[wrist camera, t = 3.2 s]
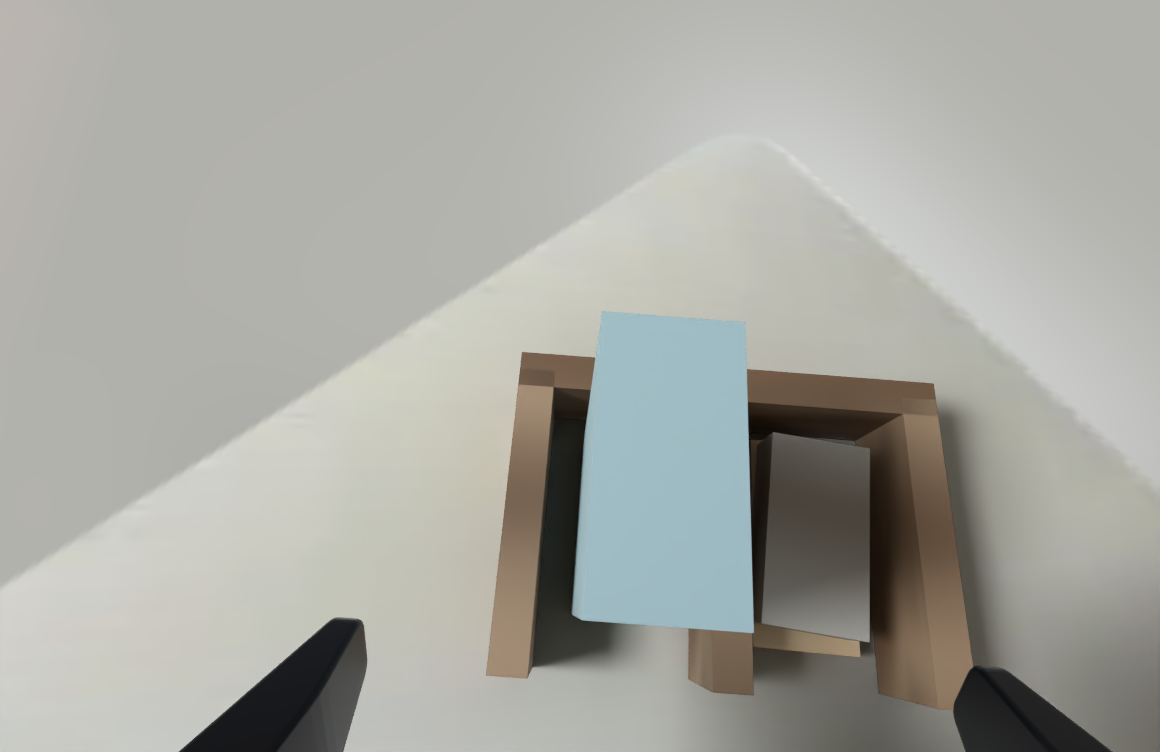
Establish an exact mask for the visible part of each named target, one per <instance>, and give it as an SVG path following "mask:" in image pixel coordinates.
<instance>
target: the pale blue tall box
mask: <svg viewBox="0 0 1160 752" xmlns="http://www.w3.org/2000/svg"><path fill="white" fill-rule="evenodd" d="M571 614H572V615H573V616H575V617H577V618H579V619H581V620H585V621H598V622H611V623H625V624H638V625H651V626H665V627H678V628H692V629H705V630H718V631H732V632H745V633H754V619H753V582H752V545H751V508H750V471H749V435H748V398H747V361H746V324H745V322H735V321H722V320H709V319H696V318H683V317H669V316H656V315H643V314H630V313H617V312H604V311H602V314H601V322H600V329H599V336H598V343H597V350H596V357H595V364H594V371H593V379H592V386H591V393H590V400H589V407H588V414H587V421H586V428H585V435H584V443H583V450H582V464H581V478H580V493H579V507H578V521H577V535H576V550H575V564H574V578H573V592H572V607H571Z"/></svg>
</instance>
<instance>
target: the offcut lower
mask: <svg viewBox="0 0 1160 752" xmlns="http://www.w3.org/2000/svg"><path fill="white" fill-rule="evenodd" d="M762 441H763V440H755V439H751V440H750V441H749V471H750V508H751V534H752V520H753V505H754V490H755V475H756V460H757V445H758V444H759V443H760V442H762ZM752 647H758V648H769V649H779V650H789V651H800V652H810V653H821V654H831V655H841V656H852V657H860V644H859V641H854V640H846V639H840V638H834V637H829V636H823V635H817V634H812V633H806V632H800V631H795V630H789V629H783V628H778V627H772V626H767V625H761V624H755V623H754V633H752Z"/></svg>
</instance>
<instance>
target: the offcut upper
mask: <svg viewBox="0 0 1160 752" xmlns="http://www.w3.org/2000/svg"><path fill="white" fill-rule="evenodd" d="M751 545H752V582H753V619H754V623H755V624H761V625H767V626H772V627H778V628H783V629H789V630H795V631H800V632H806V633H812V634H817V635H823V636H829V637H834V638H840V639H846V640H854V641H863V642H869V638H870V448H864V447H858V446H852V445H847V444H841V443H835V442H829V441H823V440H817V439H811V438H805V437H799V436H793V435H787V434H781V433H775V432H773V433H771V434H770V435H769V436H768V437H766V438H765V439H764V440H763V441H762V442H760V443H759V444H758V445H757V460H756V475H755V490H754V505H753V520H752V534H751Z"/></svg>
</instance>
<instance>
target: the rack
mask: <svg viewBox="0 0 1160 752" xmlns="http://www.w3.org/2000/svg"><path fill="white" fill-rule="evenodd" d="M594 364H595V358H592V357H579V356H566V355H553V354H540V353H527V352H522V358H521V367H520V375H519V384H518V393H517V402H516V411H515V420H514V429H513V438H512V447H511V456H510V465H509V474H508V483H507V492H506V501H505V510H504V519H503V528H502V537H501V545H500V554H499V563H498V572H497V581H496V590H495V599H494V608H493V617H492V626H491V635H490V644H489V653H488V662H487V671H486V676H499V677H513V678H526V679H527V678H528V676H529V674H530V671H531V669H532V666H533V654H534V643H535V632H536V620H537V609H538V598H539V586H540V575H541V564H542V552H543V541H544V530H545V518H546V507H547V496H548V484H549V473H550V462H551V450H552V439H553V428H554V418H568V419H581V420H587V414H588V407H589V400H590V393H591V386H592V379H593V371H594ZM747 398H748V432H751V433H765V434H771V433H773V432H775V433H781V434H787V435H793V436H804V437H817V438H830V439H843V440H856V445H857V446H858V447H864V448H870V600H871V612H872V623H873V634H874V645H875V656H876V667H877V678H878V689H879V693H880V694H884V695H887V696H891V697H895V698H899V699H902V700H906V701H910V702H914V703H917V704H921V705H925V706H929V707H932V708H936V709H943V710H953V707H954V702H955V699H956V697H957V695H958V693H959V691H960V688H961V686H962V684H963V682H964V680H965V678H966V676H967V674H968V672H969V670H970V669H971V668H973V662H972V655H971V647H970V640H969V633H968V626H967V619H966V612H965V605H964V597H963V590H962V583H961V576H960V569H959V562H958V555H957V547H956V540H955V533H954V526H953V519H952V512H951V505H950V497H949V490H948V483H947V476H946V469H945V462H944V455H943V447H942V440H941V433H940V426H939V419H938V412H937V405H936V397H935V390H934V384H932V383H919V382H906V381H893V380H880V379H867V378H854V377H841V376H828V375H815V374H801V373H788V372H775V371H762V370H749V369H747ZM688 679H689V680H691V681H693V682H695V683H697V684H698V685H700V686H702V687H704V688H706V689H707V690H709V691H711V692H714V693H728V694H741V695H754V686H753V647H752V633H745V632H732V631H718V630H705V629H692V628H689V676H688Z"/></svg>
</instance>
